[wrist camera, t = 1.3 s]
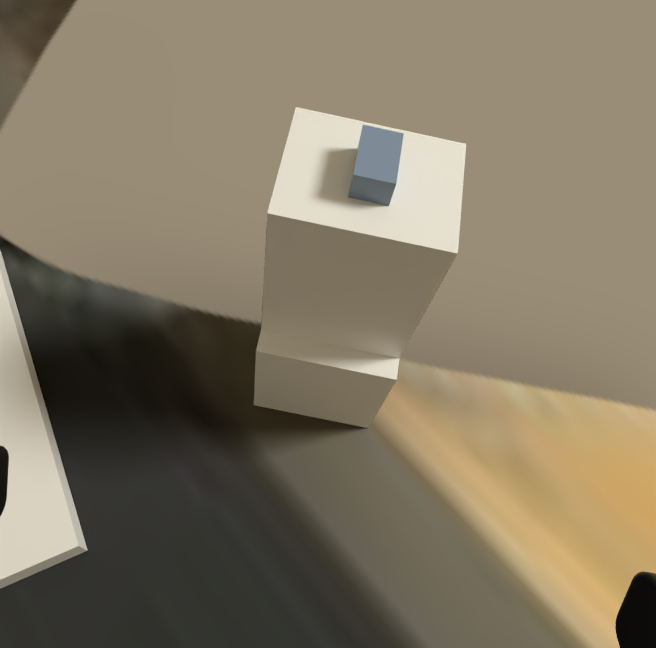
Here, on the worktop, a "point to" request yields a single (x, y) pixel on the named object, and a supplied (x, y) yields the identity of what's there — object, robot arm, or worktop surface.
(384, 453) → the worktop surface
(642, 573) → the robot arm
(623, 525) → the worktop surface
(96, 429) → the worktop surface
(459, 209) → the block
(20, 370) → the rail mount
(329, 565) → the worktop surface
